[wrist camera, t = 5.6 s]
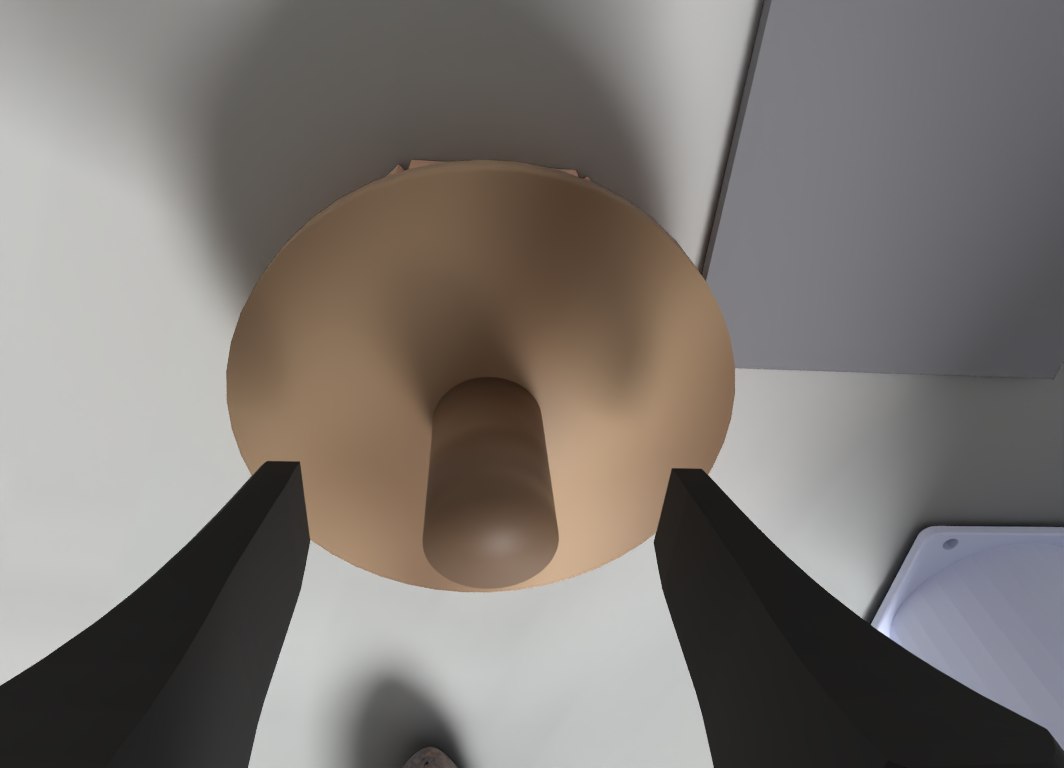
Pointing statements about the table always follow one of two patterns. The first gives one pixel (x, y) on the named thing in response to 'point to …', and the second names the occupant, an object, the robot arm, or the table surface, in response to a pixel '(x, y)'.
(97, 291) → the table surface
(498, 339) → the lid
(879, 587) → the table surface
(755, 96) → the mat
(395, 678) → the table surface
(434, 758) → the perforated stone tool
